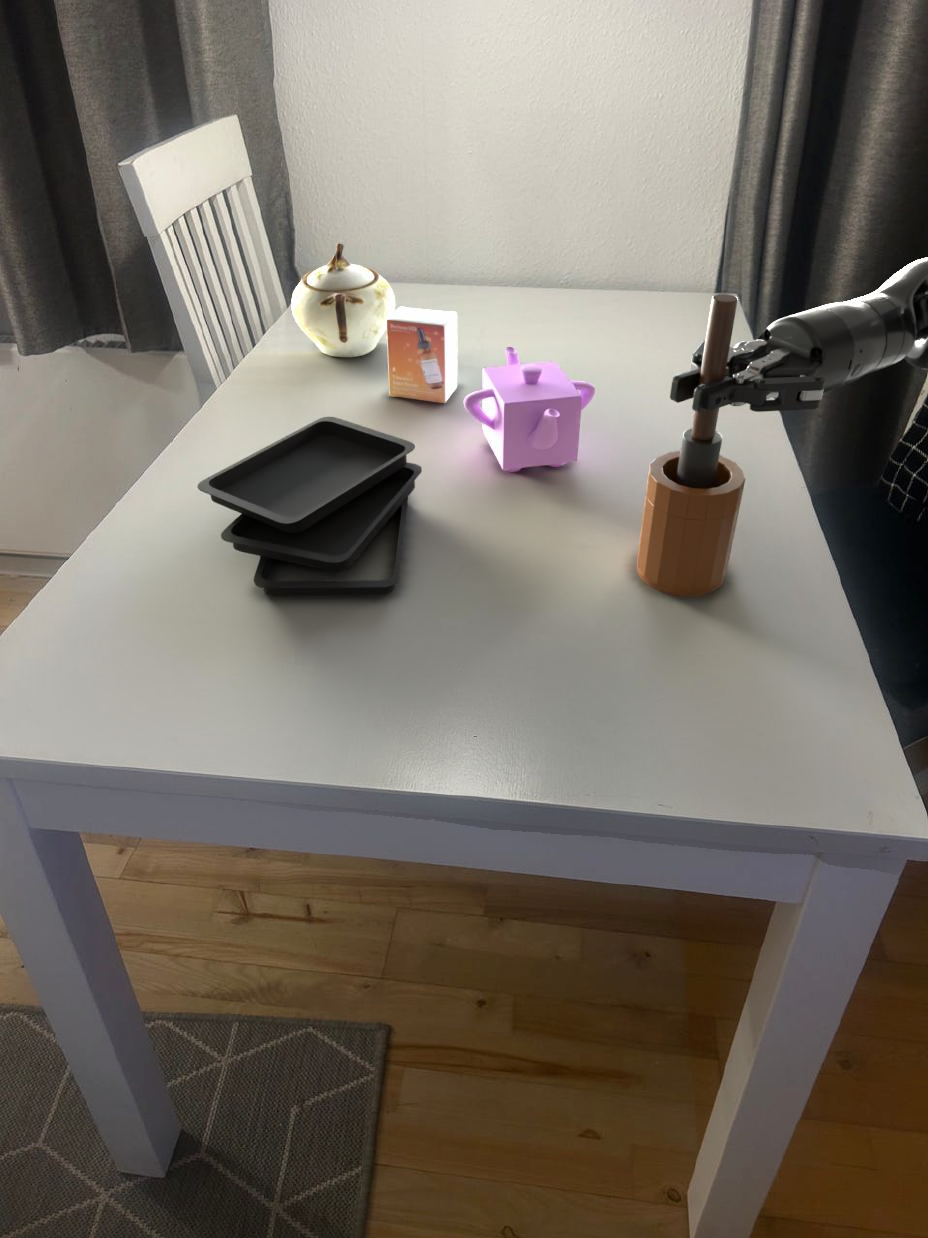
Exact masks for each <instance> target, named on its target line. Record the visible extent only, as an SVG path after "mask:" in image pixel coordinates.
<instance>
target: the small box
mask: <svg viewBox="0 0 928 1238" xmlns="http://www.w3.org/2000/svg"><path fill="white" fill-rule="evenodd" d="M386 324H387V329H386V342H387V366H388V368H387V369H388V389H389V392H388V393H389V394H388V395H389V397H393V398H394V397H395V398H405V399H411V400H417V401H418V400H419V401H425V402H431V403H432V402H434V403H442V404H446V403H447V401H448V400H449V399H450V398H451V396H452V395H453V394H454V392H455V391H456V390H457V388H458V312H457V311H446V310H434V309H426V308H425V309H423V308H417V307H415V308H414V307H408V306H402V305H401V306H399V307H398V308H396V310H395V311H394V313H393V314H392V315H391V316H390V317H389V318H388V319H387V321H386Z"/></svg>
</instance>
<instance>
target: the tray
mask: <svg viewBox="0 0 928 1238" xmlns="http://www.w3.org/2000/svg"><path fill="white" fill-rule="evenodd" d="M415 449H416V445H415V444H414V443H413V442H412V441H409V440H407V439H404V438H401V437H397V436H394V435H391V434H388V433H385V432H381V431H379V430H376V429H373V428H369V427H366V426H363V425H361V424H357V423H355V422H351V421H348V420H345V419H342V418H338V417H336V416H335V417H334V416H324V417H320V418H318V419H316V420H314V421H312V422H310V423H308V424H306V425H305V426H302V427H301V428H298V429H297V430H295V431H293V432H291V433H290V434H287V435H286V436H284V437H282V438H279V439H277V440H276V441H274V442H273V443H270V444H269V445H266V446H265V447H263V448H261V449H259V450H257V451H256V452H253V453H252V454H250V455H248V456H245V457H244V458H242V459H240V460H238V461H236V462H235V463H233V464H231V465H229V466H227V467H225V468H223V469H221V470H220V471H218V472H215V473H214V474H212V475H210V476H208V477H206V478H204V479H202V480H201V481H199V482H198V484H197V486H196V487H197V489H198V490H199V491H200V492H202V493H204V494H207V495H209V496H210V499H211V501H212V502H213V503H216V504H218V505H220V506H222V507H225V508H227V509H229V510H232V511H235V512H236V513H239V514H240V515H238V517H236V518H235V519H234V520H233V521H232V522H231V523H230V524H228V526H226V527H225V528H224V529H223V530H222V532H221V533H220V538H221V540H223V541H224V542H227V543H230V544H232V546H233V549H234V550H235V551H238V552H241V553H244V554H250V555H254V556H259V557H260V558H259V561H258V564H257V567H256V571H255V574H254V577H253V584H254V585H255V586H256V587H258V588H261V589H262V590H263V592H264V593H265V594H267V595H272V596H381V595H382V596H383V595H387V594H390V593H392V592H393V591H394V590H395V589H396V586H397V584H398V583H399V581H400V578H401V568H402V560H403V559H402V558H403V548H404V539H405V531H406V530H405V529H406V521H407V510H408V503H409V496H411V494H412V493H413V492H414V490H415V488H416V479H417V478H418V477H419V476H420V475H421V473H422V471H423V468H422V466H421V465H419V464H416V463H412V462H407V461H408V460H407V455H409V454H410V453H412V452H413V451H414V450H415ZM400 507H401V512H400V518H399V528H398V537H397V545H396V553H395V563H394V571H393V574H392V576H391V577H388V578H385V579H377V580H367V579H365V580H363V579H362V580H269V579H267V578H268V574H269V571H270V568H271V564H272V561H273V560H278V561H282V562H287V563H293V564H297V565H302V566H307V567H311V568H316V569H320V570H325V571H330V572H342V571H345V570H348V569H349V568H350V567H351V566H352V565H353V564H354V563H355V561H356V560H357V559H358V558H359V557H360V556H361V554H362V553H363V552H364V551H365V550H366V548H367V547H368V546H369V544H370V543H372V541H373V540H374V538H375V537H377V535H378V534H379V532H380V531H381V530H382V529H383V528H384V526H386V524H387V523H388V522H389V520H390V519H392V517H393V515H394V514H396V512H397V511H398V510H399V508H400Z"/></svg>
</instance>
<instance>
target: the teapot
mask: <svg viewBox="0 0 928 1238" xmlns="http://www.w3.org/2000/svg"><path fill="white" fill-rule="evenodd" d="M505 355H506V361H507V364H506V365H498V366H487V367H483V368H482V377H481V378H482V389H480V390H476V391H473V392H471V393H469V394H467V395H466V396H465V397H464V399H463V405H464V409H465V410H466V411H467V412H468V413H469V415H470V416H471V417H472V418H474V419H475V420H477V421H478V422H479V423H481V425H482V426H481V430H482V432H483V434H484V436H485V439H486V440H487V442H488V444H489V446H490V448H491V451H492V452H493V454H494V457H495V458H496V459H497V461H498V464H499V466H500V467H501V469H502V471H506V472H509V473H516V472H519V471H520V470H522V468H531V467H541V466H549V467H552V468H560V467H563V466H564V465H565V464H569V463H576V462H577V463H578V458H579V445H580V444H579V443H580V431H581V430H580V428H581V416H582V411H583V410H584V409H585V408H586V407H587V406H588V405H589V404H590V403H591V401H592V399H593V398H594V397H595V394H596V388H595V386H594V384H593V383H590V382H588V381H583V380H570V379H569V377H568V376H567V375H566V373H565V372H564V371H563V370H562V368H561V367H560V365H559V364H558V363H557V362H556V361H555V360H553V361H552V360H551V361H541V362H540V361H539V362H529V363H520V362H521V361H520V359H519V355H518V352H517V350H516V349H515V348H514V347H512V346H508V347H506V348H505ZM579 391H580V392H579ZM481 401H482V402H481ZM480 402H481V403H482V405H481V406H482V407H480V405H479V403H480Z"/></svg>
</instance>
